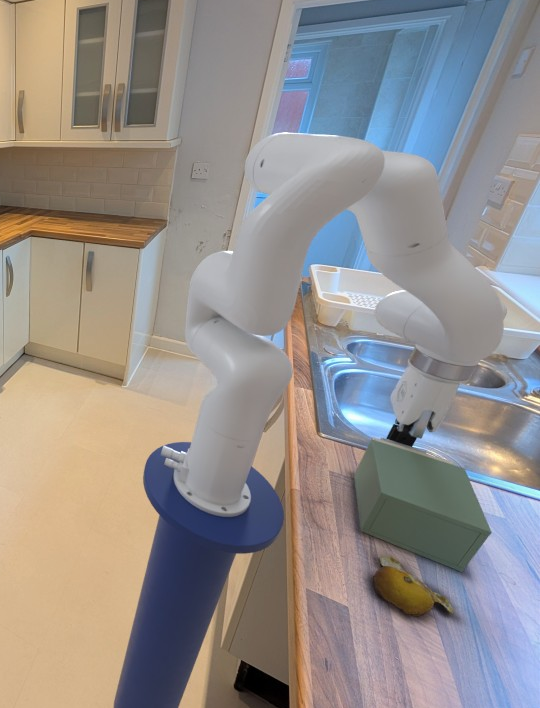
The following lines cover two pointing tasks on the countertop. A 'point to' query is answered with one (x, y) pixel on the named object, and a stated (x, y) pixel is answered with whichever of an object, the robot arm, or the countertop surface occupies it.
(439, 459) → the drawer
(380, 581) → the fruit
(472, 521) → the cabinet
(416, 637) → the countertop surface
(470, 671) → the countertop surface
